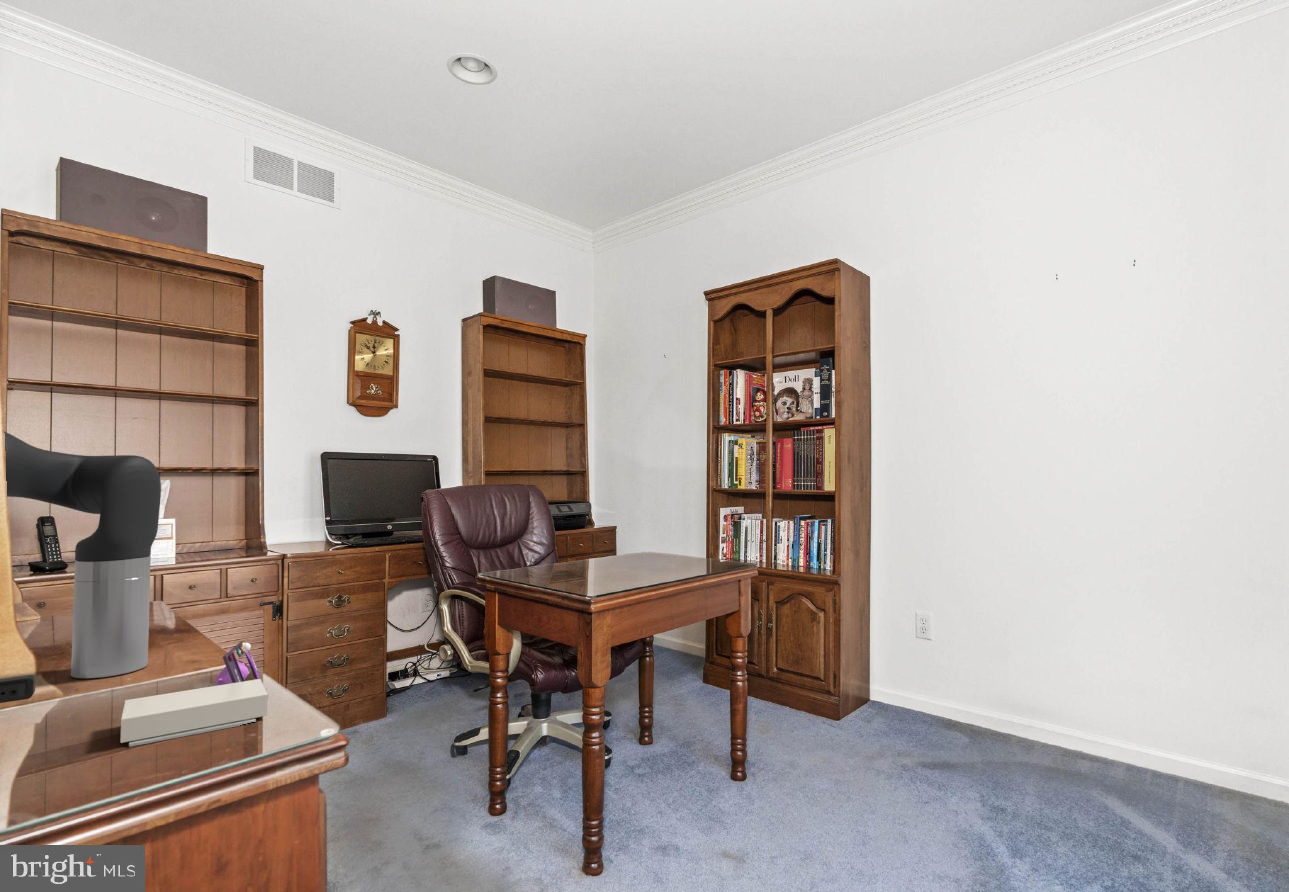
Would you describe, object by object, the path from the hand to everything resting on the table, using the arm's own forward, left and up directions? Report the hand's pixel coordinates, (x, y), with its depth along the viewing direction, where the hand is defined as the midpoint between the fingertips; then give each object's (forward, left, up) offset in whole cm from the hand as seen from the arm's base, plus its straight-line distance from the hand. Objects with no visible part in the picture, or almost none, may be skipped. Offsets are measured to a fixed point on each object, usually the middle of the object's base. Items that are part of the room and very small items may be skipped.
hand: (34, 686), depth 71 cm
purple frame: (-13, +17, -7) cm, 23 cm away
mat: (-3, +14, -7) cm, 16 cm away
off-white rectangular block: (-1, +8, -5) cm, 9 cm away
